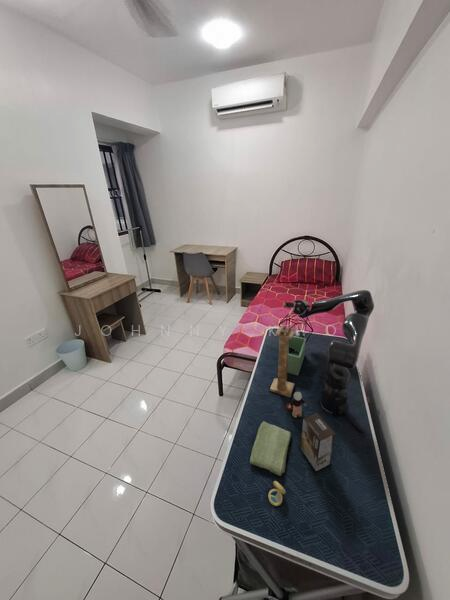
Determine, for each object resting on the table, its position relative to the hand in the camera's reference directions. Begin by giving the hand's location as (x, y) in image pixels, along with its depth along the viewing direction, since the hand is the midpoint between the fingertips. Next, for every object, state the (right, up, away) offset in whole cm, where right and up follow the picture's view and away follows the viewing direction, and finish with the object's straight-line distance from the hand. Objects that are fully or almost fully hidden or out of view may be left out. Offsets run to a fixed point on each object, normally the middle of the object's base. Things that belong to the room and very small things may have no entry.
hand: (293, 305), depth 112 cm
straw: (-1, -2, -1) cm, 2 cm away
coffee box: (+1, -55, -24) cm, 60 cm away
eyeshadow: (-16, -61, -35) cm, 72 cm away
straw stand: (-4, -41, +6) cm, 41 cm away
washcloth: (-15, -54, -21) cm, 60 cm away
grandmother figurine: (-1, -48, -8) cm, 48 cm away
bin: (+5, -33, +22) cm, 40 cm away
